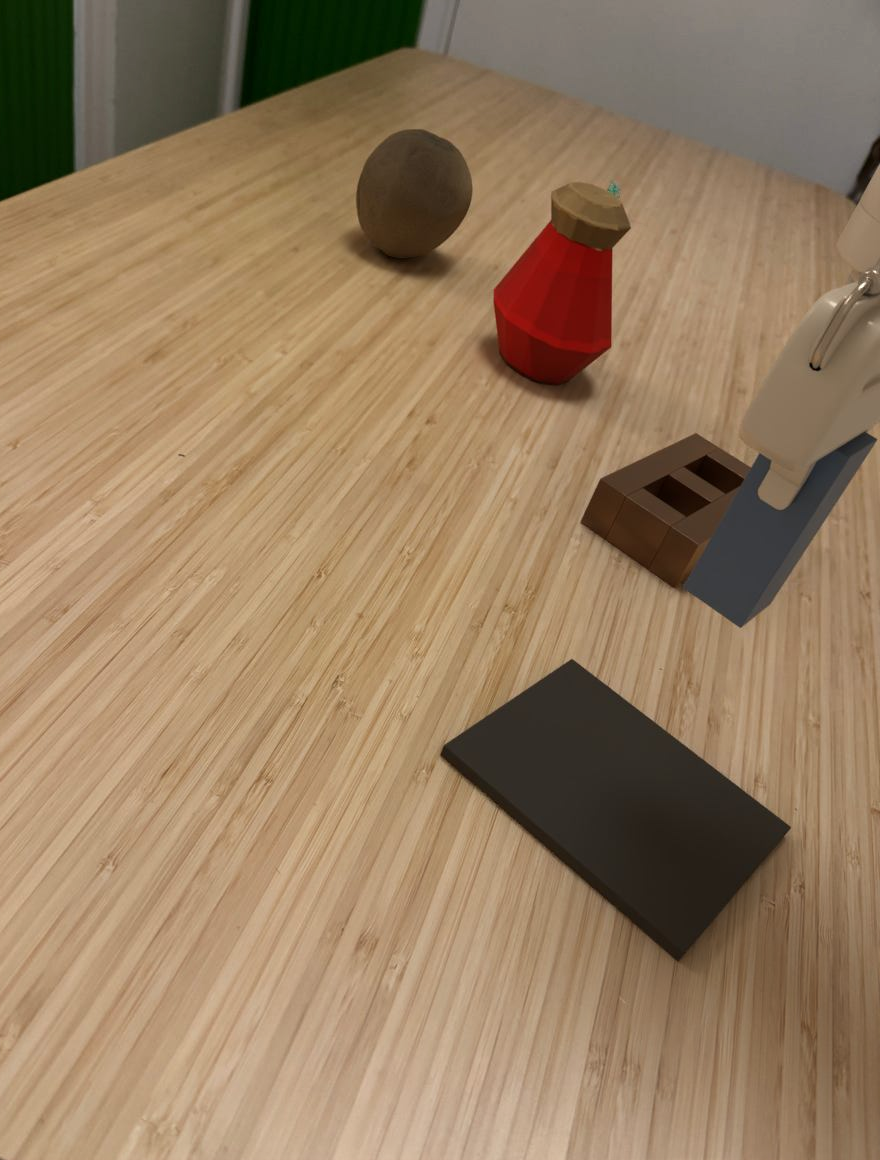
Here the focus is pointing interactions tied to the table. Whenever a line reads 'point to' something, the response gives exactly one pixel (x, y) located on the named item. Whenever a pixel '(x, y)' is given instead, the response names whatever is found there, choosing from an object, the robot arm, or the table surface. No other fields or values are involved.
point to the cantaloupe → (413, 193)
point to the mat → (620, 802)
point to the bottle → (562, 288)
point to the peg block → (667, 505)
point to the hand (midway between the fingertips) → (794, 487)
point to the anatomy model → (613, 189)
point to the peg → (769, 535)
